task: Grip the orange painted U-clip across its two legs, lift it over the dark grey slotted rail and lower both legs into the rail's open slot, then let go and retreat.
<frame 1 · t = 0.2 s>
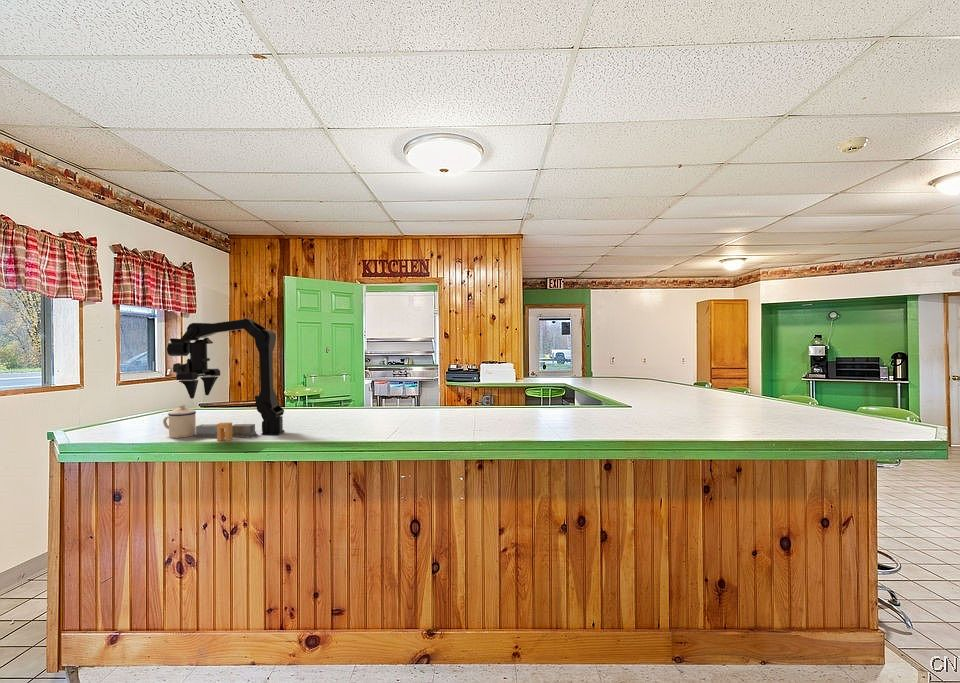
hand: (199, 396, 191), 14 cm above the table, fingers open, 9 cm apart
rail: (225, 435, 188), on the table
clip: (224, 439, 181), on the table
teacup with lid: (178, 436, 188), on the table
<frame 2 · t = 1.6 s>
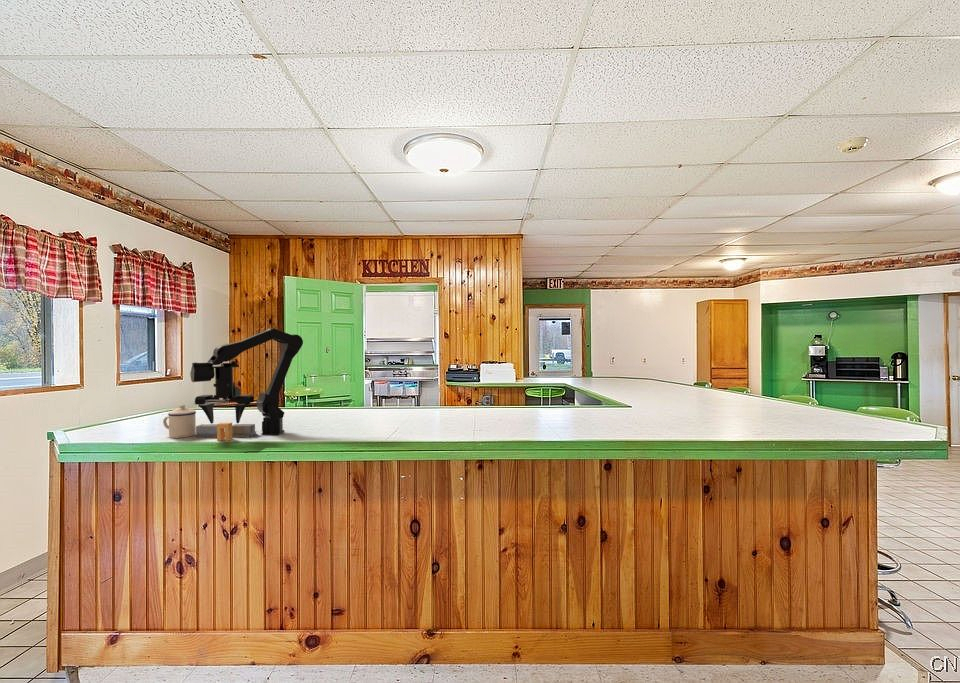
hand: (225, 423, 181), 6 cm above the table, fingers open, 9 cm apart
nothing on the table moved.
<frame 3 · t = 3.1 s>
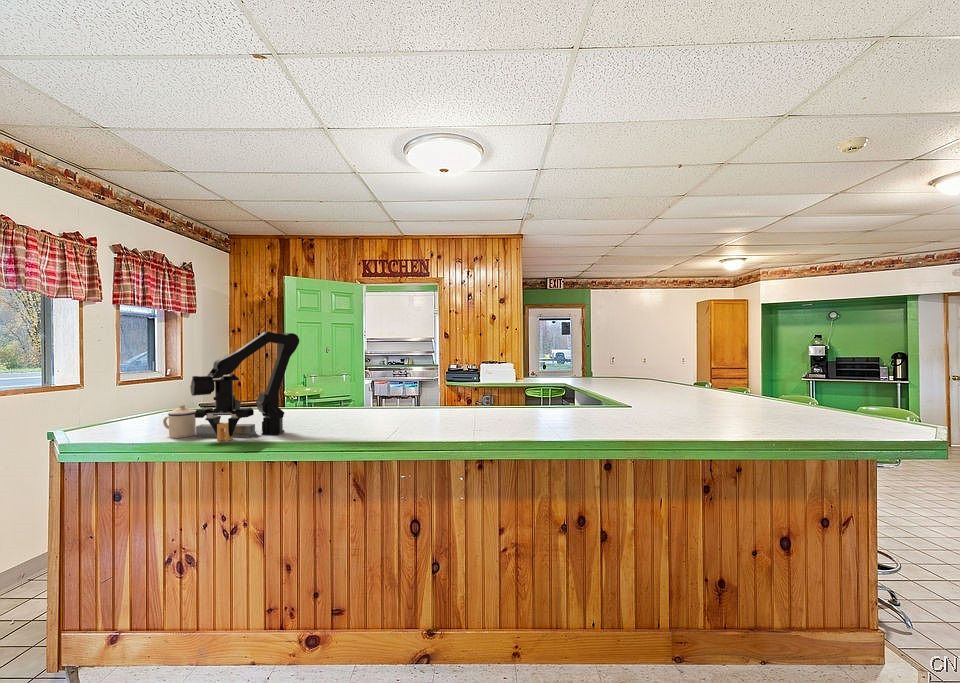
hand: (224, 436, 181), 1 cm above the table, fingers closed on clip, 4 cm apart
clip: (224, 439, 181), on the table, touching gripper
everything else where it was.
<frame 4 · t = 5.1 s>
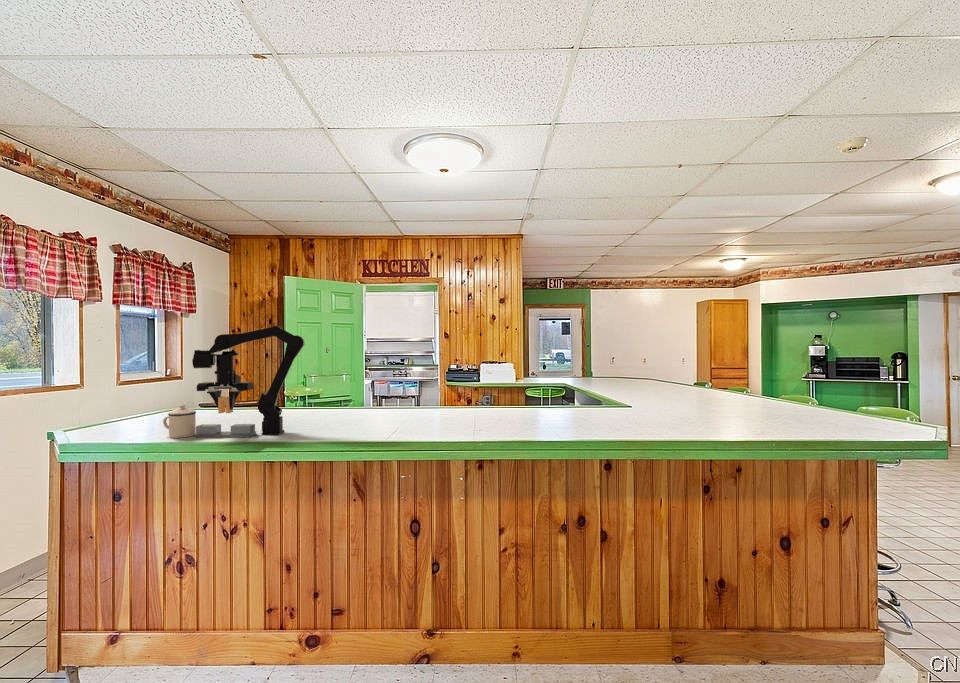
hand: (225, 409, 187), 10 cm above the table, fingers closed on clip, 4 cm apart
clip: (225, 412, 187), point 9 cm above the table, touching gripper
everything else where it was.
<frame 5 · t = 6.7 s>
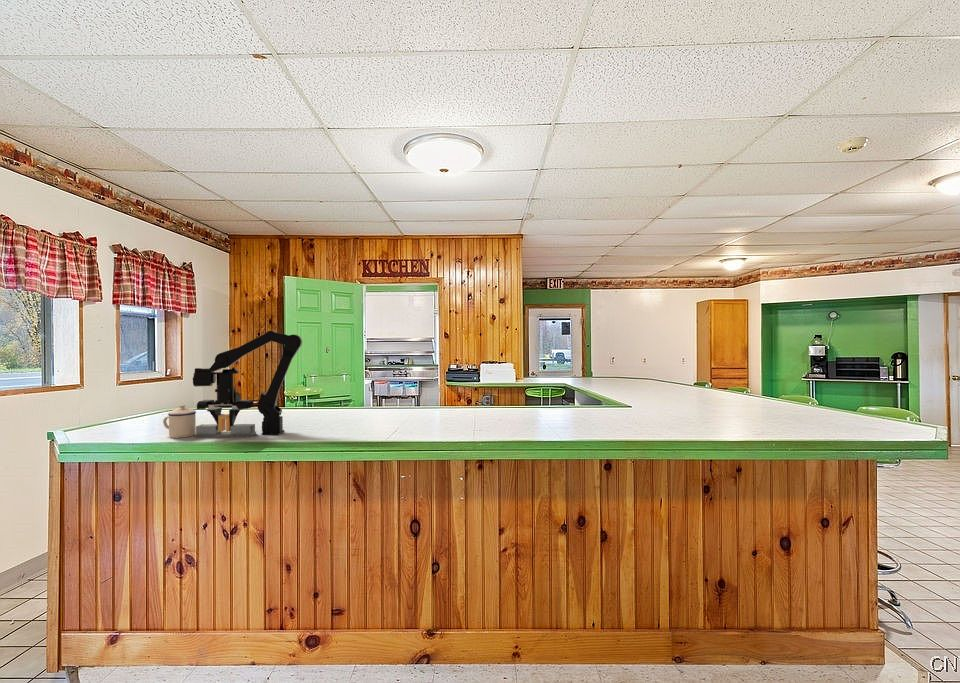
hand: (225, 427, 188), 3 cm above the table, fingers closed on clip, 4 cm apart
clip: (225, 430, 188), point 2 cm above the table, touching gripper
everything else where it was.
when the fingers open (4 cm above the table, at t = 8.3 s): clip stays where it is, resting on rail.
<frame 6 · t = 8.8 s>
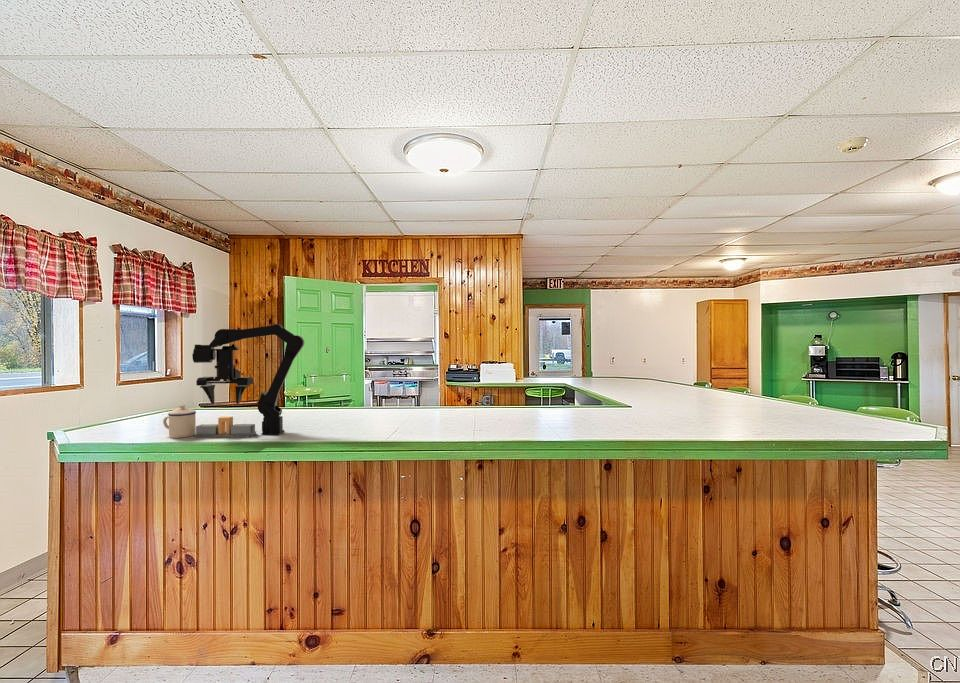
hand: (225, 404, 188), 12 cm above the table, fingers open, 9 cm apart
clip: (225, 433, 188), point 1 cm above the table, touching rail
everything else where it was.
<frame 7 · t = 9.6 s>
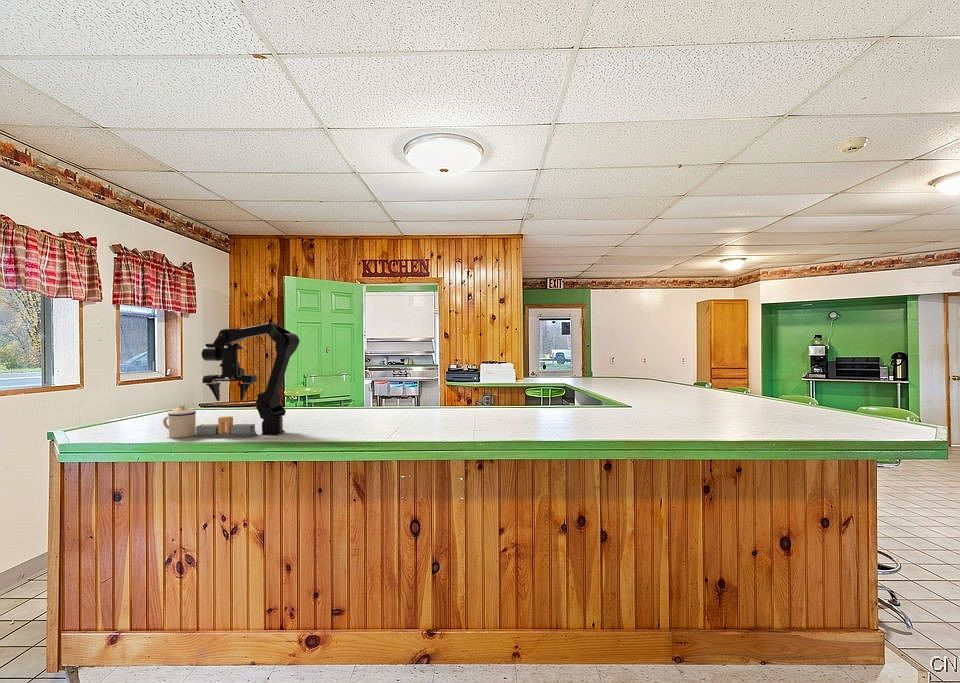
hand: (230, 400, 195), 12 cm above the table, fingers open, 9 cm apart
nothing on the table moved.
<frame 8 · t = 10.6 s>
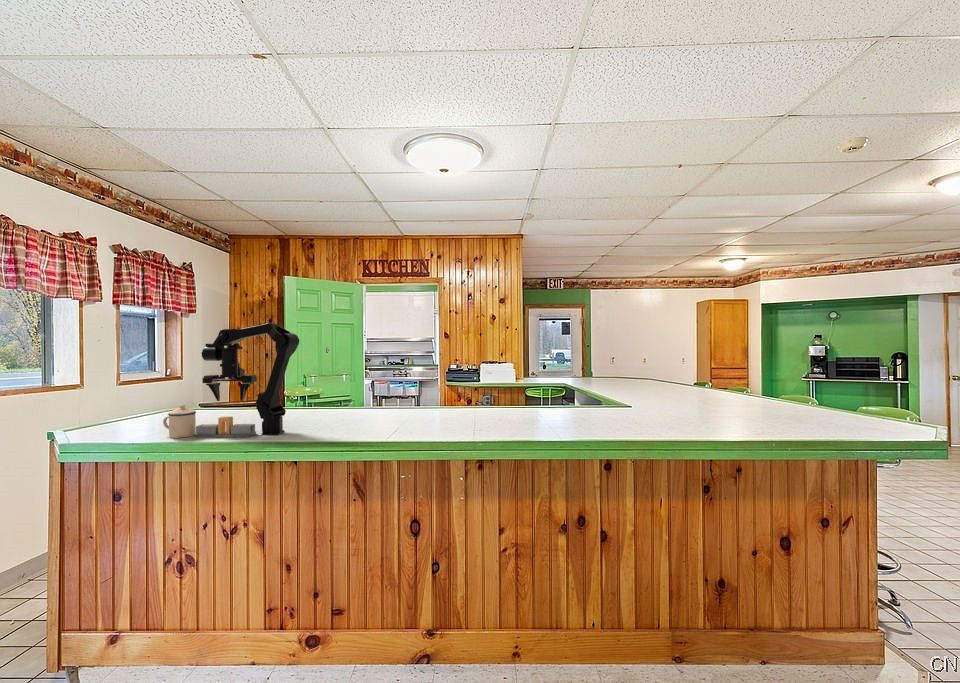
hand: (230, 400, 195), 12 cm above the table, fingers open, 9 cm apart
nothing on the table moved.
at the end: clip 0.0 cm off-centre on the rail, point 1.0 cm above the rail's base; clip tilted 0°; the gripper is holding nothing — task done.
